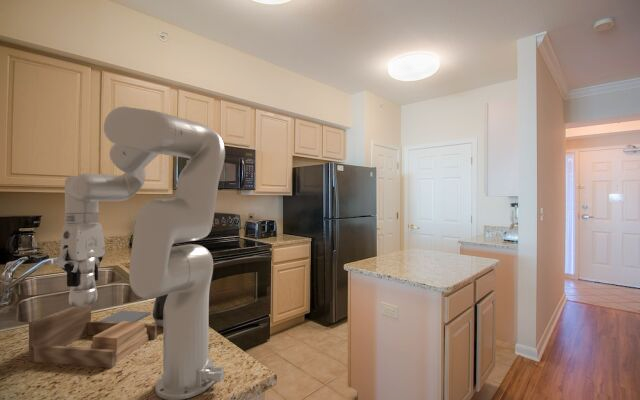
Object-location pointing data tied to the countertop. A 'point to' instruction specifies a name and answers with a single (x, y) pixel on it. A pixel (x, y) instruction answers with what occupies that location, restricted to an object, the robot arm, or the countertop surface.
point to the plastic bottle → (84, 283)
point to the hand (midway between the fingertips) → (83, 282)
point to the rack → (71, 338)
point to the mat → (126, 316)
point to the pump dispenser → (159, 309)
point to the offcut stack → (122, 338)
